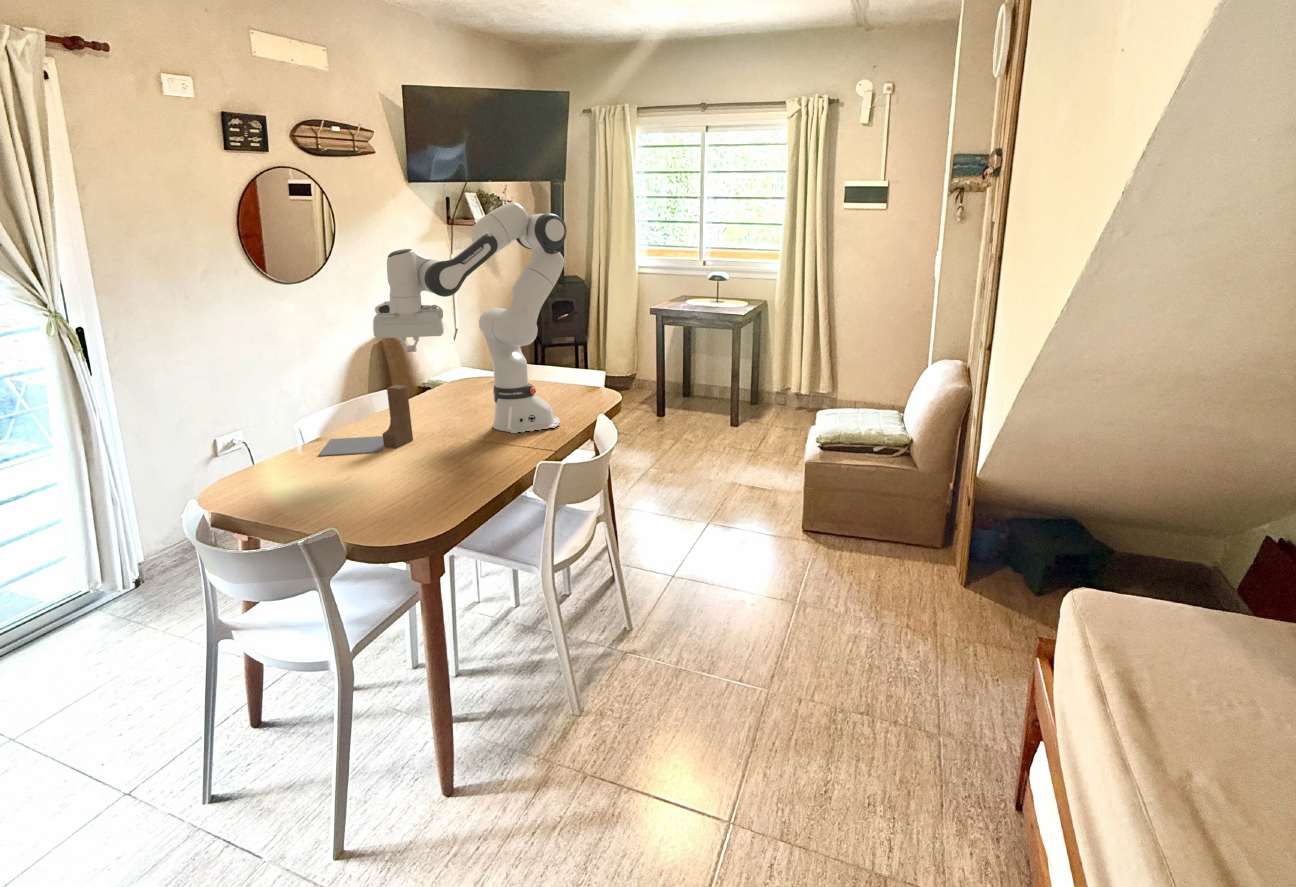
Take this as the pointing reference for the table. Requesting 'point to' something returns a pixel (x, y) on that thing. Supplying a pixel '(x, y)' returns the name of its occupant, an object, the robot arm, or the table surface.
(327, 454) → the mat
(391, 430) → the wooden block
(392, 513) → the table surface
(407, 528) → the table surface
